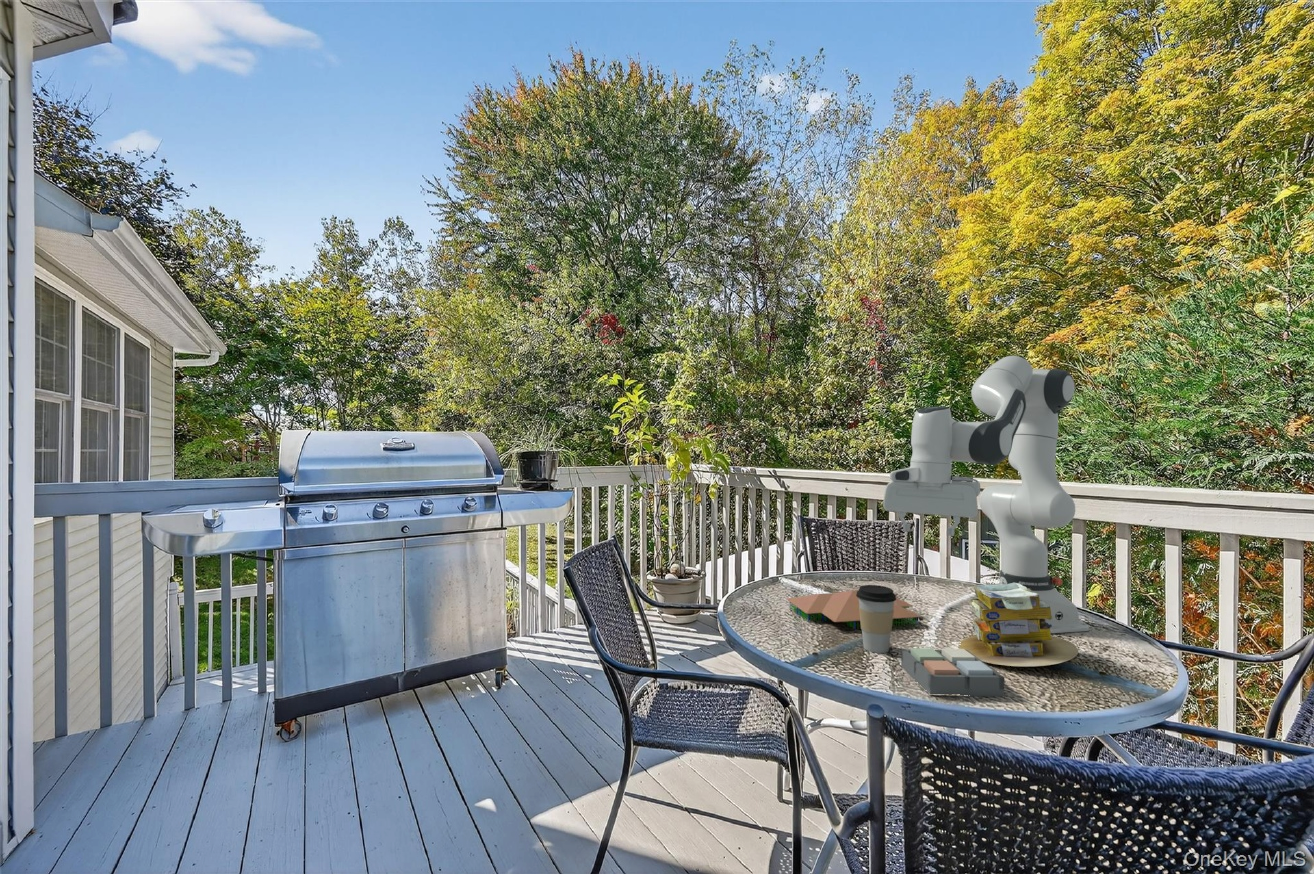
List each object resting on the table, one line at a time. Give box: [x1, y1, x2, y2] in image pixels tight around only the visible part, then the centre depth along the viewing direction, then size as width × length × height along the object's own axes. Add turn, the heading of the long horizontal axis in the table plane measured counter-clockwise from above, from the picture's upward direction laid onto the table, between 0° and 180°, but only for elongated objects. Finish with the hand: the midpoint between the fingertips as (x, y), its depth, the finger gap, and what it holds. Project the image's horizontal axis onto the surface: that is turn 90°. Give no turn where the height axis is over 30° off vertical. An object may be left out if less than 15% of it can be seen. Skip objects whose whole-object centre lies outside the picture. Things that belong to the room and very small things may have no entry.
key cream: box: [941, 648, 975, 662], centre depth 131 cm, size 5×5×2 cm
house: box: [786, 589, 922, 630], centre depth 171 cm, size 23×33×8 cm
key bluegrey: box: [957, 661, 993, 675], centre depth 124 cm, size 5×5×2 cm
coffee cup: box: [856, 584, 897, 654], centre depth 146 cm, size 9×9×15 cm
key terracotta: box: [924, 660, 959, 675], centre depth 124 cm, size 5×5×2 cm
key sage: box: [910, 647, 943, 661], centre depth 131 cm, size 5×5×2 cm
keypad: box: [900, 648, 1005, 697], centre depth 127 cm, size 15×15×4 cm
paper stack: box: [958, 583, 1079, 667], centre depth 142 cm, size 25×25×17 cm
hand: (928, 533), depth 138 cm, fingers open, 8 cm apart
